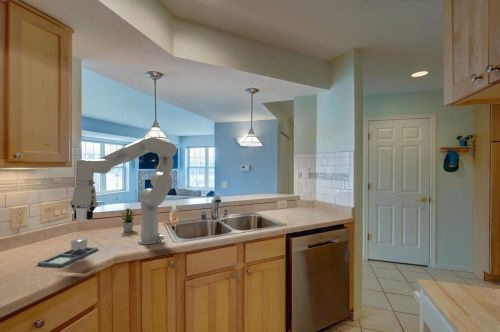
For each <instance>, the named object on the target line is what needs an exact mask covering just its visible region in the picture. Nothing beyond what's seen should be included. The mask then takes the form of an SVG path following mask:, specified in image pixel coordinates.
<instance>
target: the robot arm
mask: <svg viewBox="0 0 500 332" xmlns="http://www.w3.org/2000/svg"><path fill="white" fill-rule="evenodd" d="M177 151H178V149H177V146H176V145H175V144H174V143H172V142H170V141H166V140H164V139H163V140H162V139H160V138H157V137H153V136H148V137H147V136H146V137H143V138H140V139H139V140H136V141H135V142H131V143H130V144H128V145H126V146H123V147H121V148H119V149H117V150H116V151H113V152H111V153H108V154H107V155H104V156H102V157H100V158H98V159H89V158H87V159H86V158H79V159H77V160H76V162H75V163H76V164H75V168H76V169H75V170H76V171H75V185H74V188H73V191H72V192H73V193H72V200H71V201H69V205H70V206H71V208H72V211H73V212H74V214H73V216H74V217H73V219H75V220H77V217H76V207H81V206H87V209H88V212H87V219H88V220H89V219H90V220H91V219H93V218H94V217H93V216H94V211H95V210H96V208H97V207H98V206H99V202H98V201H97V191H96V186H95V183H96V182H95V181H94V177H95V176H94V174H101V175H103V174H104V175H105V174H108V173H109V172H111V170H112V168H115V167H116V166H119V165H122V164H126V163H130V162H132V161H133V160H135V159H137V158H141V157H142V156H144V155H145V154H148V153H150V152H151V153H153V154H156V155H157V156H158V158H159V159H158V161H159V162H158V165H156V166H157V167H156V169H155V171H154V172H153V174H152V176H151V177H150V184H151V185H152V187H150V188H149V187H148V188H145V189H143V190H142V192H141V193H140V196H139V197H140V198H139V199H140V200H139V201H140V212H141V214H140V216H141V217H140V238H139V239H138V240H137V243H138V244H140V245H154V244H158V243H159V242H161V240H162V241H163V240H164V238H165V236H164V235H163V234H162V235H160V234H161V233H160V232H159V206H160V205H162V203H163V202H165V199H166V197H167V196H168V194H169V192H170V190H171V187H172V184H173V177H172V176H171V171H172V170H173V167H174V159H173V157H174V156H176V154H177ZM90 207H91V208H90Z"/></svg>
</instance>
